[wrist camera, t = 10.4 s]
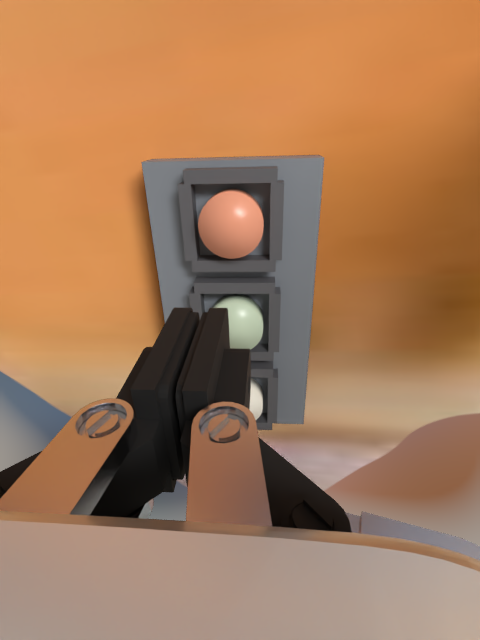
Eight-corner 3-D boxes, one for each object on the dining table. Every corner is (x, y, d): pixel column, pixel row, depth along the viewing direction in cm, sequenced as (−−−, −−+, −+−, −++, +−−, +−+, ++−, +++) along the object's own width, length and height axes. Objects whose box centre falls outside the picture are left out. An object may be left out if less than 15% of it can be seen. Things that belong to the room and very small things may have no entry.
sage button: (263, 294, 32) (263, 304, 30) (263, 341, 34) (262, 353, 32) (208, 294, 32) (204, 303, 30) (211, 341, 34) (208, 352, 33)
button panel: (319, 155, 29) (327, 159, 25) (301, 405, 42) (304, 434, 38) (152, 159, 30) (135, 163, 26) (184, 402, 43) (176, 430, 39)
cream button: (263, 375, 36) (262, 387, 34) (262, 412, 38) (262, 426, 37) (214, 374, 36) (211, 386, 35) (216, 411, 39) (214, 424, 37)
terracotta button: (263, 187, 27) (263, 192, 26) (263, 250, 30) (263, 258, 28) (199, 189, 28) (195, 193, 26) (204, 251, 30) (200, 258, 28)
